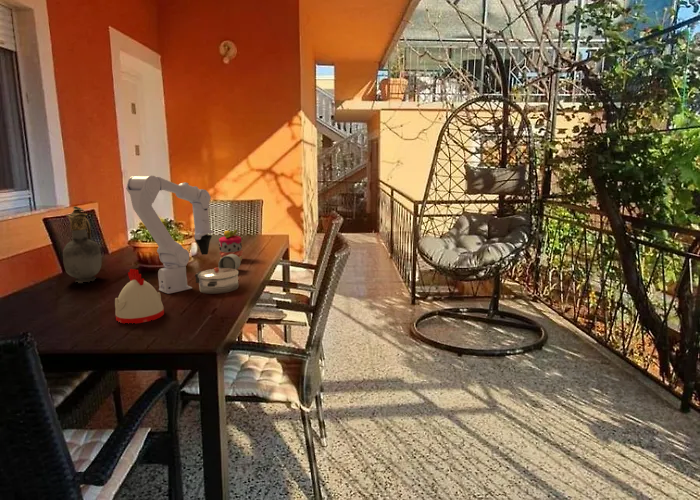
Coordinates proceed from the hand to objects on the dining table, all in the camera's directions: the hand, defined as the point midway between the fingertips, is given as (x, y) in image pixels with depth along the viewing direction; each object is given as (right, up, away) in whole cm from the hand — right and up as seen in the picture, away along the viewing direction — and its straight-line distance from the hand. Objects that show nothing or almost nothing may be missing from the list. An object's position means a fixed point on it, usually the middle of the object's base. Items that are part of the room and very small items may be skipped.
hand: (204, 254), depth 191 cm
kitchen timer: (-8, -19, -40) cm, 45 cm away
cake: (+2, -4, +36) cm, 36 cm away
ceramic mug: (+5, -8, +14) cm, 17 cm away
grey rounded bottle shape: (-50, -11, +6) cm, 51 cm away
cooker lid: (+8, -8, -12) cm, 16 cm away
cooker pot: (+9, -13, -11) cm, 19 cm away
